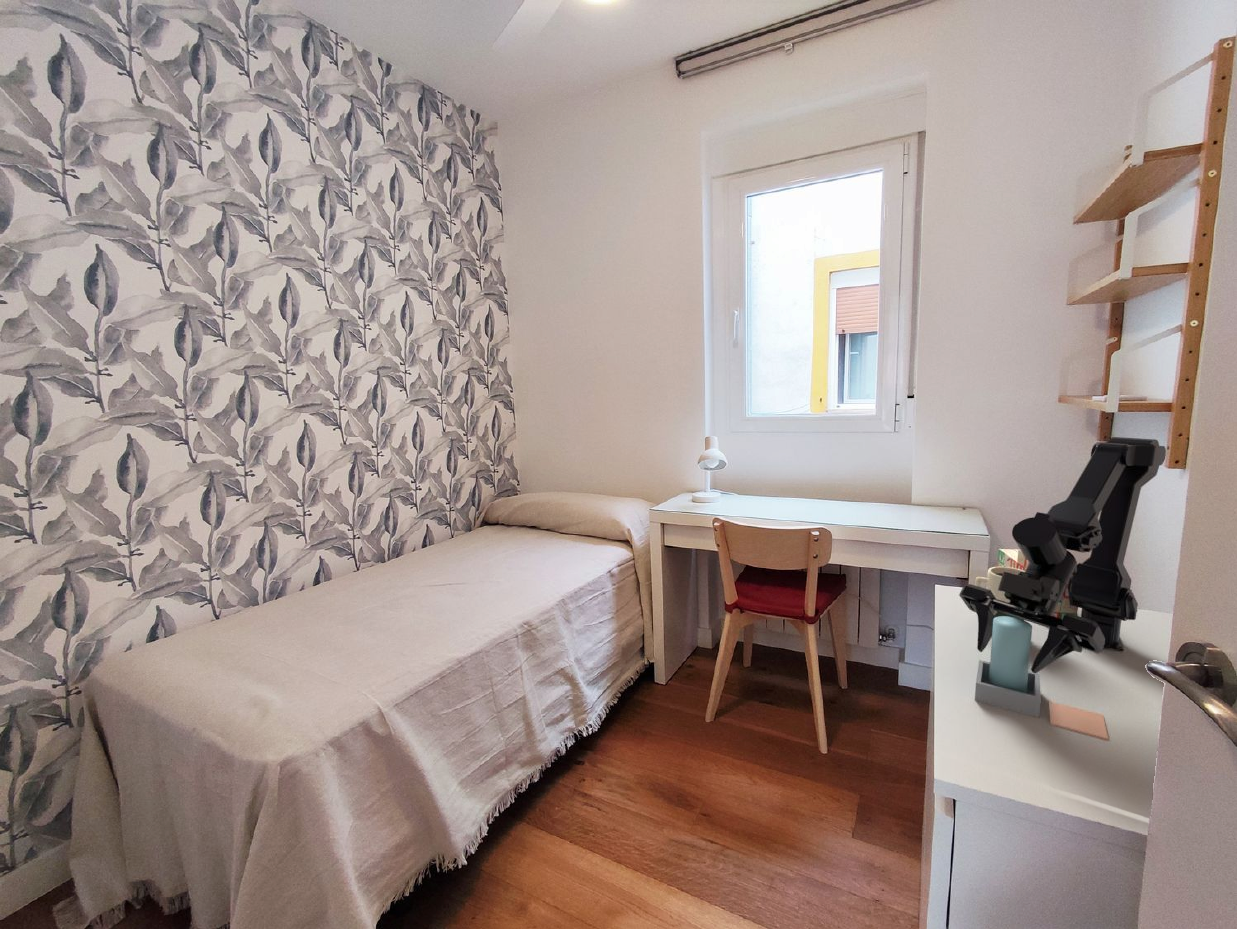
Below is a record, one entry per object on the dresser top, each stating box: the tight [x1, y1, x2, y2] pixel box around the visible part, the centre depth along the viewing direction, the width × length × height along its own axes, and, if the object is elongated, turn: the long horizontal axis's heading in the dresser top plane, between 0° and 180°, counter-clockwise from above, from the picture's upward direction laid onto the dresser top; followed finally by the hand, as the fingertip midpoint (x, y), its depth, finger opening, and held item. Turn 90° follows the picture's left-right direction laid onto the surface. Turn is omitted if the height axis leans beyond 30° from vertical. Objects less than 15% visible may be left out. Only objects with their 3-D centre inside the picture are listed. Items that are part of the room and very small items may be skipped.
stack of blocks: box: [997, 548, 1079, 619], centre depth 119 cm, size 21×6×12 cm, turn 167°
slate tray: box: [974, 659, 1042, 718], centre depth 87 cm, size 8×8×3 cm
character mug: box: [974, 566, 1025, 620], centre depth 106 cm, size 11×7×13 cm, turn 55°
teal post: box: [989, 616, 1033, 693], centre depth 86 cm, size 5×5×12 cm
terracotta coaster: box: [1048, 700, 1109, 741], centre depth 81 cm, size 6×6×1 cm
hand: (1005, 660), depth 86 cm, fingers open, 7 cm apart
